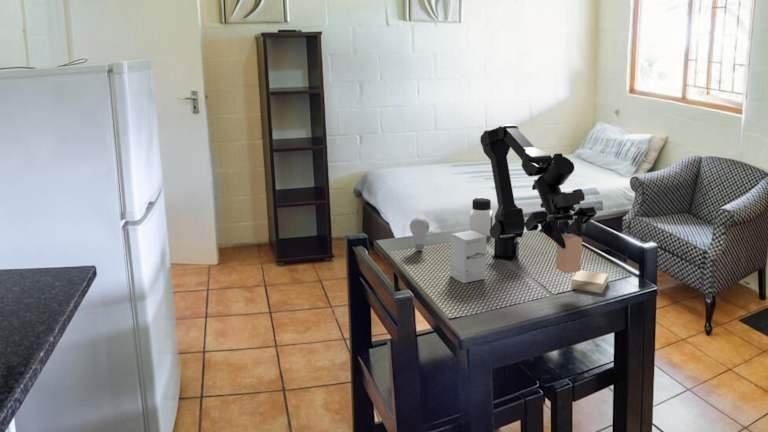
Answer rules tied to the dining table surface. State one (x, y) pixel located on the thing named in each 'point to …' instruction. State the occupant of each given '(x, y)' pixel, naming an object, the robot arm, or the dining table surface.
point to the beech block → (589, 281)
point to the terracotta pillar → (569, 254)
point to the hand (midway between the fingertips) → (572, 246)
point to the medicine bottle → (481, 216)
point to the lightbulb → (419, 231)
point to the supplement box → (468, 256)
